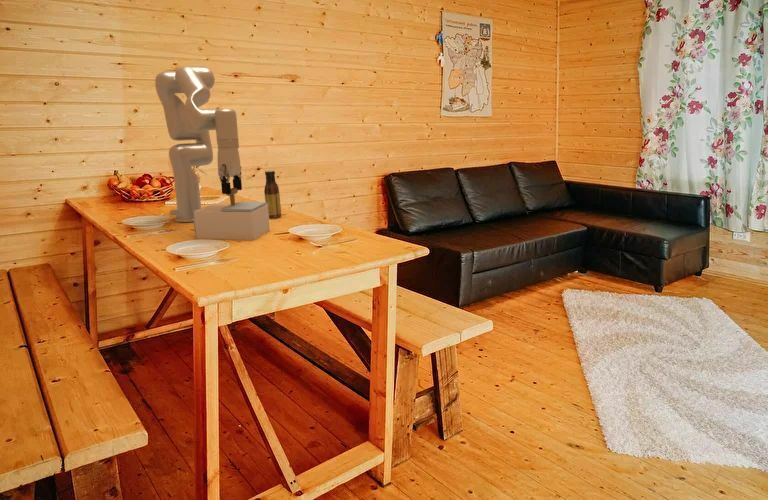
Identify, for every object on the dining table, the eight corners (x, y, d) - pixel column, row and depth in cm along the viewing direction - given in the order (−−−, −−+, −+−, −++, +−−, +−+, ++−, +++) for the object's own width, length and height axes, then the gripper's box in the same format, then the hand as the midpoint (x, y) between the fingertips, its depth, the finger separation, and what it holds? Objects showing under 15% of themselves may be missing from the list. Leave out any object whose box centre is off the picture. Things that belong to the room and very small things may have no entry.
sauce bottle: (277, 215, 248) (274, 169, 243) (284, 217, 243) (281, 170, 238) (263, 217, 244) (260, 170, 239) (270, 219, 239) (267, 172, 234)
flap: (221, 211, 204) (219, 191, 202) (238, 203, 218) (236, 185, 216) (251, 211, 202) (250, 191, 200) (266, 204, 216) (265, 185, 214)
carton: (195, 238, 208) (192, 210, 205) (214, 228, 223) (212, 203, 220) (253, 239, 204) (251, 211, 201) (269, 230, 219) (267, 203, 217)
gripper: (228, 143, 214) (232, 188, 218) (207, 146, 197) (212, 195, 201) (247, 142, 212) (251, 188, 217) (227, 146, 196) (232, 195, 200)
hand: (232, 191), depth 209 cm, fingers open, 9 cm apart
